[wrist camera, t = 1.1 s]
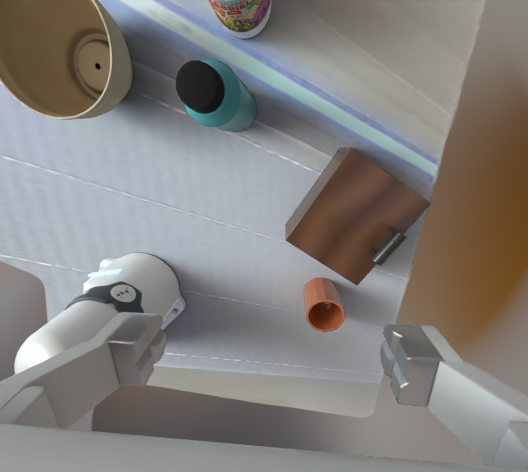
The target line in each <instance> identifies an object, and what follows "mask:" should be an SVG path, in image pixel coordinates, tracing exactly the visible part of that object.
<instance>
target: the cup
mask: <svg viewBox="0 0 528 472" xmlns="http://www.w3.org/2000/svg"><path fill="white" fill-rule="evenodd" d="M303 294H304V303H305V312H306V319H307V322H308V323H309V325H310V326H311V327H312V328H314V329H315V330H317V331H322V332H328V331H333V330H335V329H337V328H339V327H340V326H341V325H342V324H343V322H344V319H345V312H344V308H343V305H342V302H341V299H340V297H339V294H338V291H337V288H336V286H335V285H334V283H333V282H331V281H330V280H328V279H325V278H316V279H313V280H311V281H309V282H308V283H307V284H306V286H305V288H304V293H303Z"/></svg>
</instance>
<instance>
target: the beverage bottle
mask: <svg viewBox="0 0 528 472" xmlns="http://www.w3.org/2000/svg"><path fill="white" fill-rule="evenodd" d="M237 77H238V76H237ZM237 77H236V75H235V73H234V72H233V71H232V70H231V68H230V67H228V66H227V65H226V64H224V63H223V62H221V61H218V60H214V59H206V60H202V61H196V60H195V61H190V62H187V63H186V64H184V65H183V66H182V67H181V69H180V70H179V72H178V74H177V78H176V89H177V93H178V95H179V97H180V99H181V100H182V102H183V103H184V105H185V108H186V110H187V112H188V113H189V115H190V116H191V117H192V118H193V119H194V120H195V121H197V122H198V123H200V124H202V125H204V126H208V127H215V128H219V129H221V130H222V131H223V130H228V131H233V132H240V131H242V132H244V130H247V128H249V127H250V126H251V124H252V123H253V121H254V119H256V118H255V116H256V114H257V113H256V103H255V101H254V98H253V97H252V96H253V95H251V94H250V92H249V91H250V90H249V91H248V90H247V89H246V85H244V84H243V82H242V81H241V80H239V79H238V78H237ZM217 130H218V129H217ZM228 131H227V132H228Z"/></svg>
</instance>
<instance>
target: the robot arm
mask: <svg viewBox="0 0 528 472" xmlns="http://www.w3.org/2000/svg"><path fill="white" fill-rule="evenodd" d="M88 276H89V277H90V276H93V277H92V278H90V279H89V280H88V281H87V282H86V283H85V284H84V290H83V293H81V294H80V295H79V296H77V297H76V298H75V299H74V300H73V301H72V302H71V303H69V305H68V306H67V307H66V308H65V310H64V311H63V312H62V313H60V314H59V315H58V316H56V317H55V318H54V319H52V320H51V321H50V322H48V323H47V324H46V325H44V326H43V327H42V328H40V329H39V330H38V331H36V332H35V333H34V334H32V335H31V336H30V337H28V339H27V340H26V341H25V342H24V343H23V345H22V346H21V348H20V349H19V351H18V353H17V356H16V359H15V375H13V376H11V377H9V378H7V379H5V380H3V381H1V382H0V472H528V397H527V396H526V395H524V394H522V393H520V392H519V391H517V390H515V389H514V388H512V387H510V386H509V385H506V384H505V383H503V382H502V381H500V380H498V379H497V378H495V377H493V376H491V375H490V374H488V373H486V372H485V371H483V370H481V369H480V368H478V367H476V366H475V365H473V364H471V363H469V362H463V360H462V359H461V358H460V357H459V355H458V354H457V353H456V352H455V351H454V350H453V348H452V347H451V346H450V344H449V343H448V342H447V341H446V340H445V338H444V337H443V336H442V334H441V333H440V332H439V331H438V330H437V328H436V327H434V326H432V325H416V326H414V325H390V324H386V326H385V327H384V332H383V335H384V337H385V339H386V341H384V342H383V343H382V344H381V351H380V354H381V363H382V366H383V369H384V372H385V374H387V375H388V376H389V377H390V378H391V383H390V386H391V388H392V390H393V393H394V395H395V397H396V400H397V402H398V404H403V405H414V406H423V407H427V409H428V410H429V411H431V413H433V414H434V416H436V417H437V418H438V419H439V420H440V421H441V422H442V423H443V424H444V425H445V426H446V427H447V428H448V429H449V430H450V431H451V432H452V433H453V434H454V435H455V436H456V437H457V438H458V439H459V440H460V441H461V442H463V444H464V445H465V446H466V447H467V448H469V449H470V450H471V451H472V452H473V453H474V454H475V455H476V456H477V457H478V458H479V459H480V460H481V461H482V462H483V463H484V464H485V465H486V466H476V465H465V464H454V463H443V462H430V461H419V460H409V459H398V458H387V457H375V456H364V455H353V454H341V453H330V452H319V451H318V452H317V451H308V450H307V451H306V450H296V449H285V448H274V447H262V446H251V445H239V444H229V443H217V442H206V441H195V440H184V439H183V440H182V439H172V438H160V437H149V436H138V435H127V434H115V433H105V432H93V431H92V418H93V412H94V408H95V406H96V405H97V404H99V403H100V402H101V401H102V400H104V399H105V398H106V397H108V396H109V395H110V394H111V393H113V392H114V391H115V390H116V389H118V388H119V387H120V385H129V386H130V385H131V386H145V384H146V382H147V381H148V379H149V377H150V376H151V374H152V372H153V371H154V368H153V364H155V363H156V362H158V361H159V360H160V359H161V357H162V355H163V354H164V350H165V347H166V334H165V332H164V331H163V330H164V329H165V328H166V327H167V326H168V325H169V324H170V323H171V322H172V321H173V320H174V319H175V318H176V317H177V316H178V315H179V314H180V313H181V312H182V311H183V310H184V309H185V308H186V303H185V301H184V299H183V298H182V296H181V294H180V290H179V284H178V281H177V278H176V276H175V274H174V273H173V271H172V270H171V269H170V267H169V266H168V265H167V264H165V263H164V262H163V261H162V260H160V259H158V258H156V257H154V256H152V255H149V254H145V253H131V254H128V255H125V256H123V257H120V258H106V259H104V260H103V261H102V262H101V264H100V270H99V272H97V273H91V274H89V275H88ZM175 308H176V309H177V310H176V309H175Z"/></svg>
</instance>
